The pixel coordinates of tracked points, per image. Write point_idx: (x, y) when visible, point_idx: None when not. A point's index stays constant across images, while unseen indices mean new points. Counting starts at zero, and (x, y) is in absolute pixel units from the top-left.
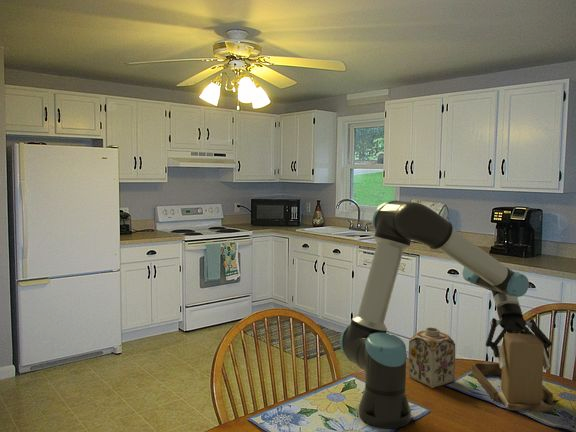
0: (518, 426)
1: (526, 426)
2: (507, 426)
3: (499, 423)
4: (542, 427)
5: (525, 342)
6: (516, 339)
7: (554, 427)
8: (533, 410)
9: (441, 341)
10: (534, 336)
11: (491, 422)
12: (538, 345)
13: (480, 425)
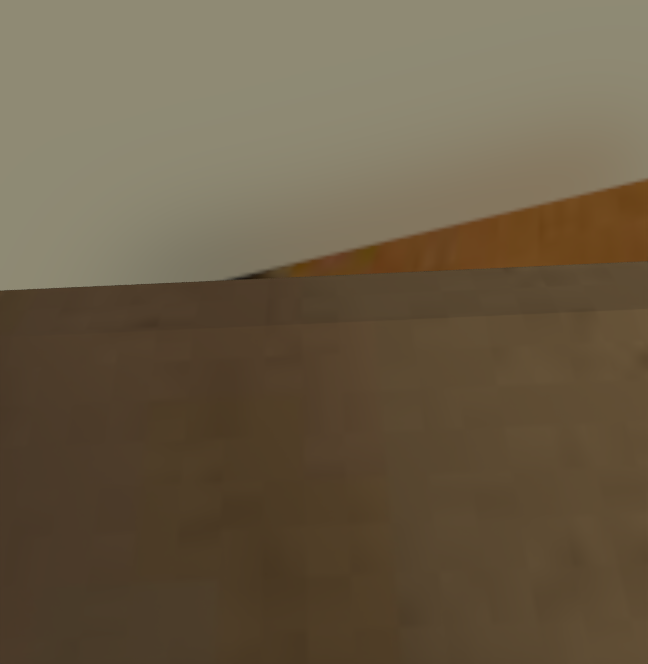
0: (422, 241)
1: (380, 251)
2: (479, 228)
3: (518, 247)
4: (299, 262)
5: (371, 294)
6: (634, 470)
7: (235, 277)
8: None
9: None
10: None
11: (560, 247)
12: (58, 289)
13: (614, 204)
